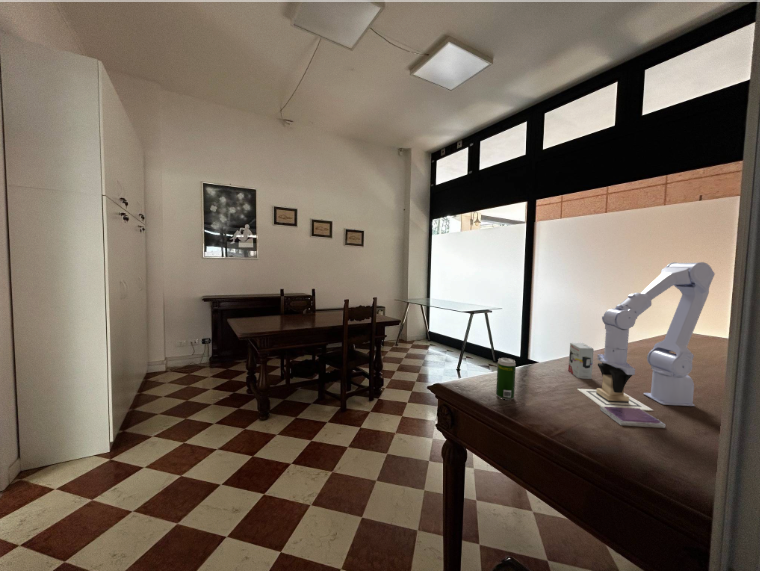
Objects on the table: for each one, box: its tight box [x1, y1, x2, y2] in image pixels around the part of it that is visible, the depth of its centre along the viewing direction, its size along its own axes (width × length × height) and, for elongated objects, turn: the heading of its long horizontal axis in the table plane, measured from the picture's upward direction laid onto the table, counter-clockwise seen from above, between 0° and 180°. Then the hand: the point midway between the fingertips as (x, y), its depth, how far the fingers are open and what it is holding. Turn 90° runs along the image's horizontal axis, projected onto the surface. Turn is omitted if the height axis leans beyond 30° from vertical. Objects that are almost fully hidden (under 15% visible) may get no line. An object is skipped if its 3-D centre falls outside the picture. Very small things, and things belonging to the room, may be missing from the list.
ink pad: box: [599, 406, 666, 429], centre depth 86 cm, size 11×9×1 cm
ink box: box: [567, 342, 595, 380], centre depth 120 cm, size 9×5×12 cm, turn 172°
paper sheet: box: [576, 388, 654, 412], centre depth 99 cm, size 14×14×1 cm
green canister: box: [495, 357, 517, 401], centre depth 99 cm, size 5×5×12 cm
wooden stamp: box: [596, 375, 630, 403], centre depth 98 cm, size 6×6×7 cm
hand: (612, 389), depth 98 cm, fingers closed on wooden stamp, 4 cm apart
